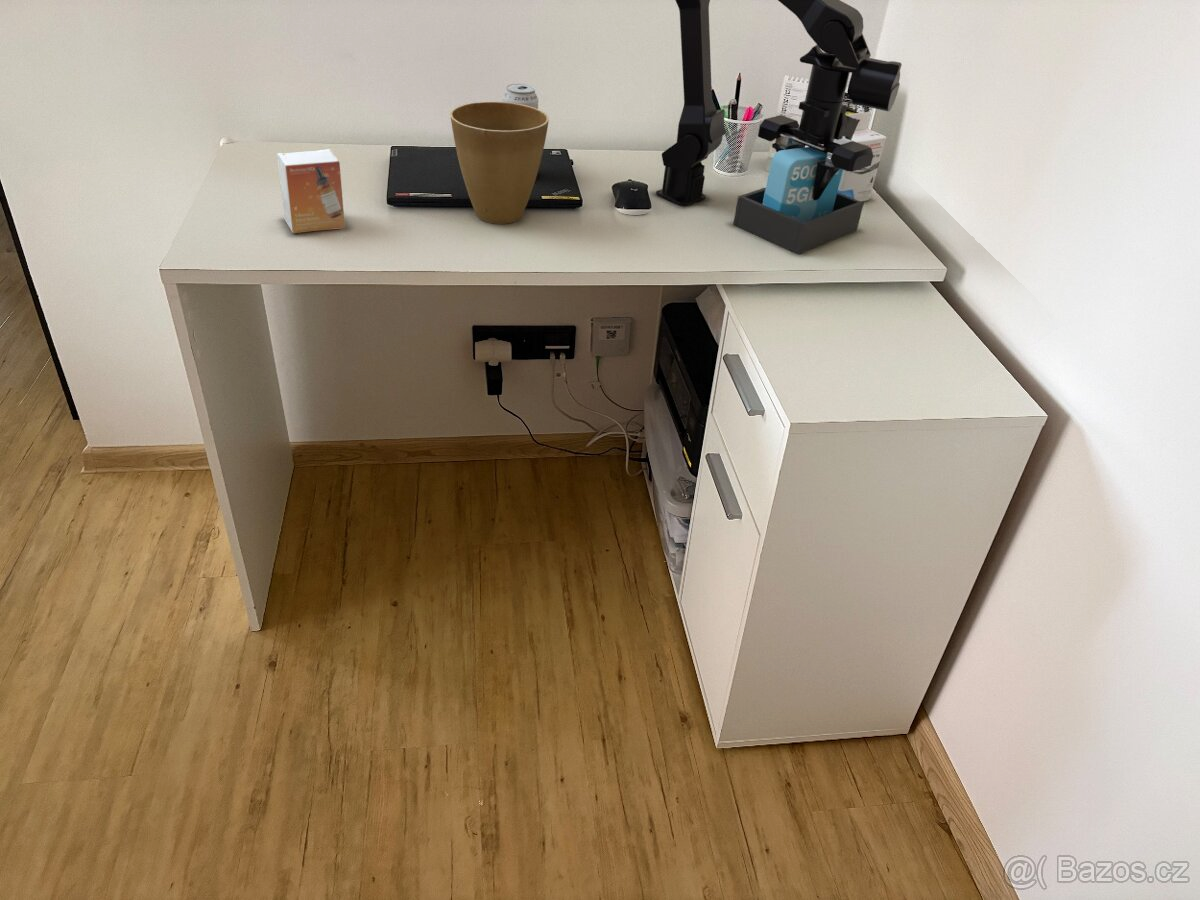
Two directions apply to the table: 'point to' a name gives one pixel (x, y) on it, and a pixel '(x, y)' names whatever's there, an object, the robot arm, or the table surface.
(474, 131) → the plant pot
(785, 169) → the data package
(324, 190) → the small box
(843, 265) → the table surface
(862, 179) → the ink box
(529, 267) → the table surface
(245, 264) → the table surface
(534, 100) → the energy drink can
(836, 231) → the black box
